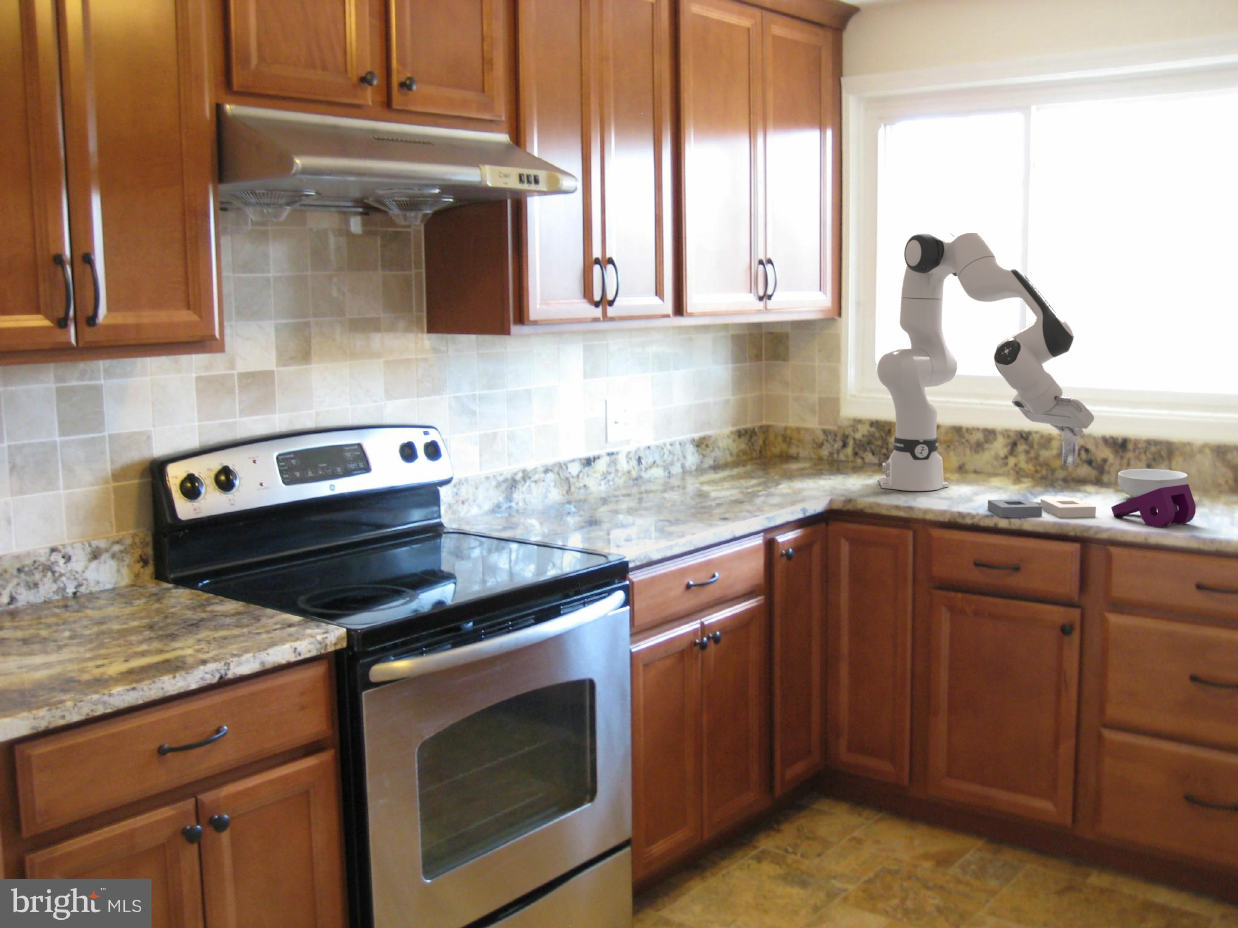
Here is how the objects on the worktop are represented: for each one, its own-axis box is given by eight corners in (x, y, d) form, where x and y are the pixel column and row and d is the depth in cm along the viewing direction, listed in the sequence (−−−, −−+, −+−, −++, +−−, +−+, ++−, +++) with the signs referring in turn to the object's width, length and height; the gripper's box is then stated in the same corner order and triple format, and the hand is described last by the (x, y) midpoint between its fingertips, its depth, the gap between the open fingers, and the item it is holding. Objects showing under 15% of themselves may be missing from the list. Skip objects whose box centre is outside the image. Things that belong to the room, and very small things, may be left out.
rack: (1040, 508, 306) (1040, 498, 306) (1075, 507, 307) (1075, 497, 306) (1059, 517, 294) (1059, 507, 294) (1095, 516, 295) (1095, 506, 294)
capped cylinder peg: (1059, 464, 300) (1062, 403, 298) (1073, 463, 300) (1075, 403, 298) (1065, 466, 297) (1067, 405, 295) (1079, 465, 297) (1081, 404, 295)
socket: (987, 509, 306) (987, 499, 305) (1026, 508, 306) (1026, 499, 306) (1001, 517, 296) (1001, 507, 296) (1041, 516, 296) (1042, 506, 296)
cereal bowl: (1121, 492, 327) (1122, 466, 326) (1189, 497, 318) (1190, 470, 317) (1112, 503, 312) (1113, 476, 311) (1183, 508, 304) (1184, 480, 303)
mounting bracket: (1113, 542, 293) (1172, 522, 278) (1102, 509, 295) (1160, 487, 280) (1141, 538, 297) (1200, 518, 282) (1130, 505, 299) (1188, 484, 284)
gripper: (1081, 388, 284) (1111, 427, 289) (1021, 383, 302) (1051, 419, 307) (1065, 408, 283) (1096, 447, 288) (1006, 401, 301) (1036, 438, 306)
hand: (1072, 433), depth 298 cm, fingers closed on capped cylinder peg, 3 cm apart
